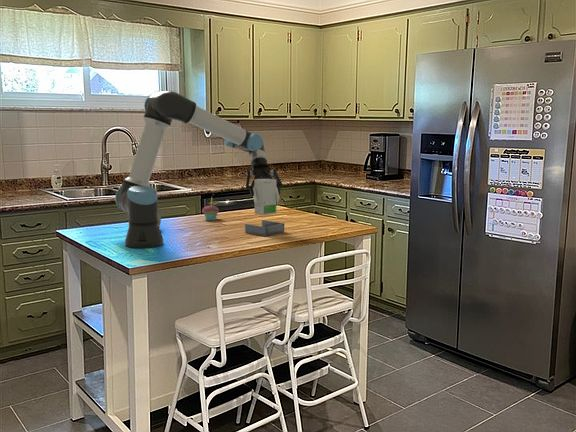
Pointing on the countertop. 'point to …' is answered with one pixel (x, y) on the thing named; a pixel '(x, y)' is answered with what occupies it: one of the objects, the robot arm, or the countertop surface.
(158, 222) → the garlic bulb
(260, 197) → the skincare box
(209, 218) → the cupcake
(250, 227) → the tray
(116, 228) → the countertop surface
